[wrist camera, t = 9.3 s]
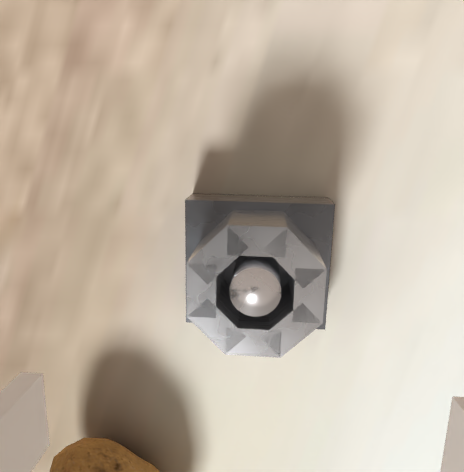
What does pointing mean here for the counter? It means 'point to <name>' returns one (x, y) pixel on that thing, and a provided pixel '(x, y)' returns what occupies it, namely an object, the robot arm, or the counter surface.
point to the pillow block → (255, 267)
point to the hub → (292, 293)
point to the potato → (99, 458)
